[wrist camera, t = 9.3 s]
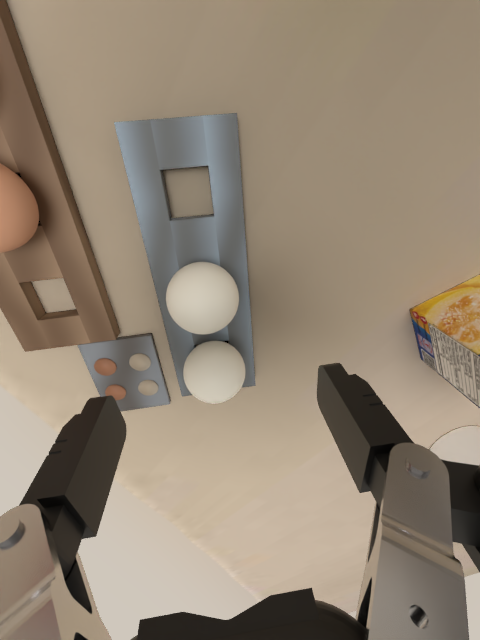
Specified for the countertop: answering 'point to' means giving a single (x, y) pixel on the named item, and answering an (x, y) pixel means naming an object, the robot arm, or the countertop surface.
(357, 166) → the countertop surface
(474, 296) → the beverage box
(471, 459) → the cup
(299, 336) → the countertop surface
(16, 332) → the racks
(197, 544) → the countertop surface
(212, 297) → the cream ball
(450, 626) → the robot arm
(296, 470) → the countertop surface
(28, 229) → the terracotta ball
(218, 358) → the cream ball
